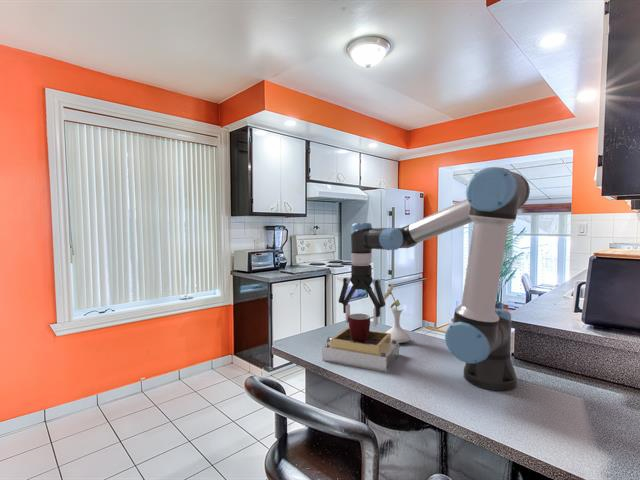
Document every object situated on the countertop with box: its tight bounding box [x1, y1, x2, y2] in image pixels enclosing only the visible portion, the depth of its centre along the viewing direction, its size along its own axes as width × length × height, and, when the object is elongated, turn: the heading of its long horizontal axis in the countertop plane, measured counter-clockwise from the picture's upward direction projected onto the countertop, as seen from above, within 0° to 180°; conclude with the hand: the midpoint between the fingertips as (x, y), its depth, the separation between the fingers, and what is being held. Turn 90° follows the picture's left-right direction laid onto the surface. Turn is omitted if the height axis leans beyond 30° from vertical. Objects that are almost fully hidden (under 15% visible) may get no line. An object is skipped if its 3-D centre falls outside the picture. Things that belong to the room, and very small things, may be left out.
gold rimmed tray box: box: [321, 327, 400, 373], centre depth 129 cm, size 28×18×8 cm, turn 63°
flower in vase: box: [383, 283, 411, 344], centre depth 145 cm, size 13×11×25 cm
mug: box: [348, 313, 371, 343], centre depth 127 cm, size 10×8×10 cm
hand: (361, 323), depth 128 cm, fingers open, 10 cm apart
